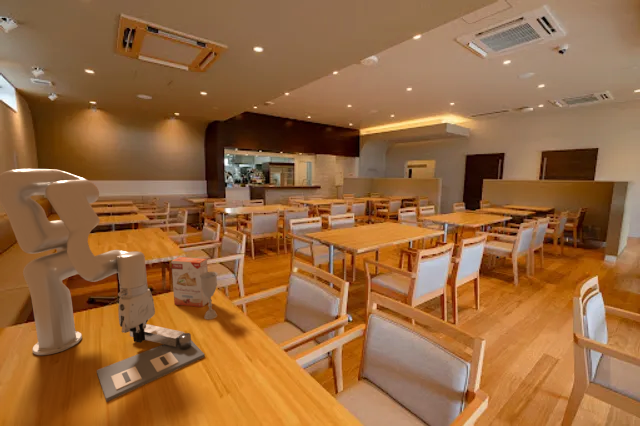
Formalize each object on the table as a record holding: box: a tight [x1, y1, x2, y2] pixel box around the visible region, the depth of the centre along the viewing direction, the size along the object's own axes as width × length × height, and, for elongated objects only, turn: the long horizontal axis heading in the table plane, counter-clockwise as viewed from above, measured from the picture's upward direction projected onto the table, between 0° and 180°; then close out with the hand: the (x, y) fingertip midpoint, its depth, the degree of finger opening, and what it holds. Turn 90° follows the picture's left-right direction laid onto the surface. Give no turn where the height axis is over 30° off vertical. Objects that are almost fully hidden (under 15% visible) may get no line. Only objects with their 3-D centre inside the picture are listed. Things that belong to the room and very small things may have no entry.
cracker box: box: [171, 256, 209, 308], centre depth 128 cm, size 14×6×21 cm, turn 81°
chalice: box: [199, 271, 218, 320], centre depth 118 cm, size 7×7×18 cm
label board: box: [96, 339, 206, 403], centre depth 89 cm, size 15×26×1 cm, turn 135°
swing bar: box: [129, 323, 192, 350], centre depth 99 cm, size 4×24×4 cm, turn 73°
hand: (139, 340), depth 97 cm, fingers closed
